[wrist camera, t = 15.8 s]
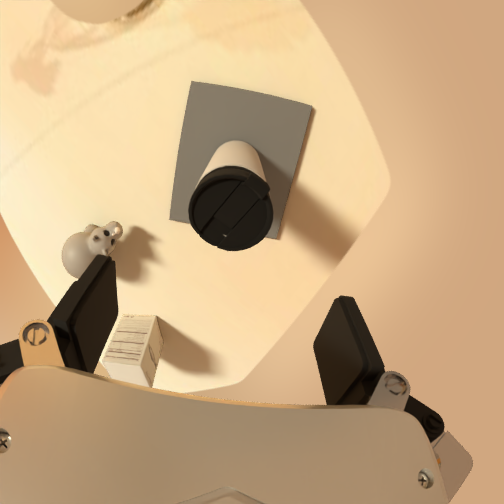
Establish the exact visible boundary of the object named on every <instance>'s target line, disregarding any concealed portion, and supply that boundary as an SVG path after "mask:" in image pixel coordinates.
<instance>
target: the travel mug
mask: <svg viewBox="0 0 504 504" xmlns="http://www.w3.org/2000/svg"><path fill="white" fill-rule="evenodd" d="M269 191H270V187H269V185H268V184H267V182H266V179H265V175H264V172H263V169H262V165H261V162H260V159H259V156H258V153H257V151H256V150H255V148H254V147H253V146H252V145H250V144H249V143H247V142H245V141H241V140H231V141H228V142H225V143H224V144H222V145H221V146H220V147H219V148H218V149H217V150H216V152H215V153H214V155H213V157H212V159H211V160H210V162H209V164H208V166H207V167H206V169H205V171H204V173H203V174H202V176H201V178H200V180H199V182H198V184H197V185H196V188H195V191H194V193H193V194H192V196H191V199H190V202H189V208H188V214H189V220H190V223H191V226H192V227H193V229H194V230H195V231H196V232H197V234H199V235H200V237H201V238H202V239H204V240H205V241H206V242H208V243H209V244H211V245H213V246H217V248H220V249H223V250H227V251H239V250H244V249H248V248H251V247H252V246H254V245H256V244H258V243H259V242H260V241H261V240H263V239H264V237H265V236H266V235H267V234H268V232H269V230H270V228H271V226H272V222H273V206H272V202H271V198H270V193H269Z"/></svg>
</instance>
